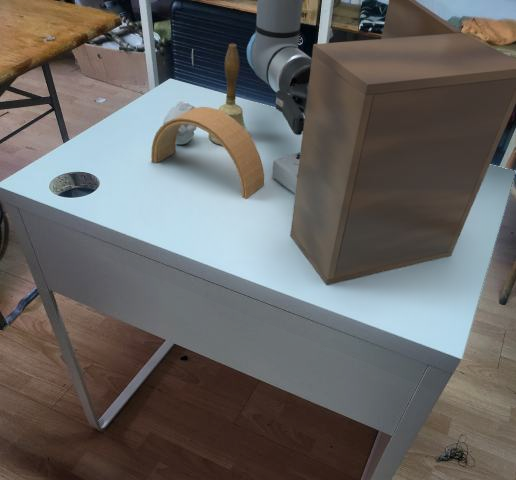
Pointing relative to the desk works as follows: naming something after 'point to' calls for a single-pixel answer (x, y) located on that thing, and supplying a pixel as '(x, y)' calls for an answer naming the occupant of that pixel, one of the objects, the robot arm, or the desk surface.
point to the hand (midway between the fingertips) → (368, 143)
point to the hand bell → (231, 89)
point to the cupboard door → (413, 21)
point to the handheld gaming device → (287, 171)
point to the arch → (223, 132)
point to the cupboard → (396, 149)
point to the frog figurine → (185, 130)
